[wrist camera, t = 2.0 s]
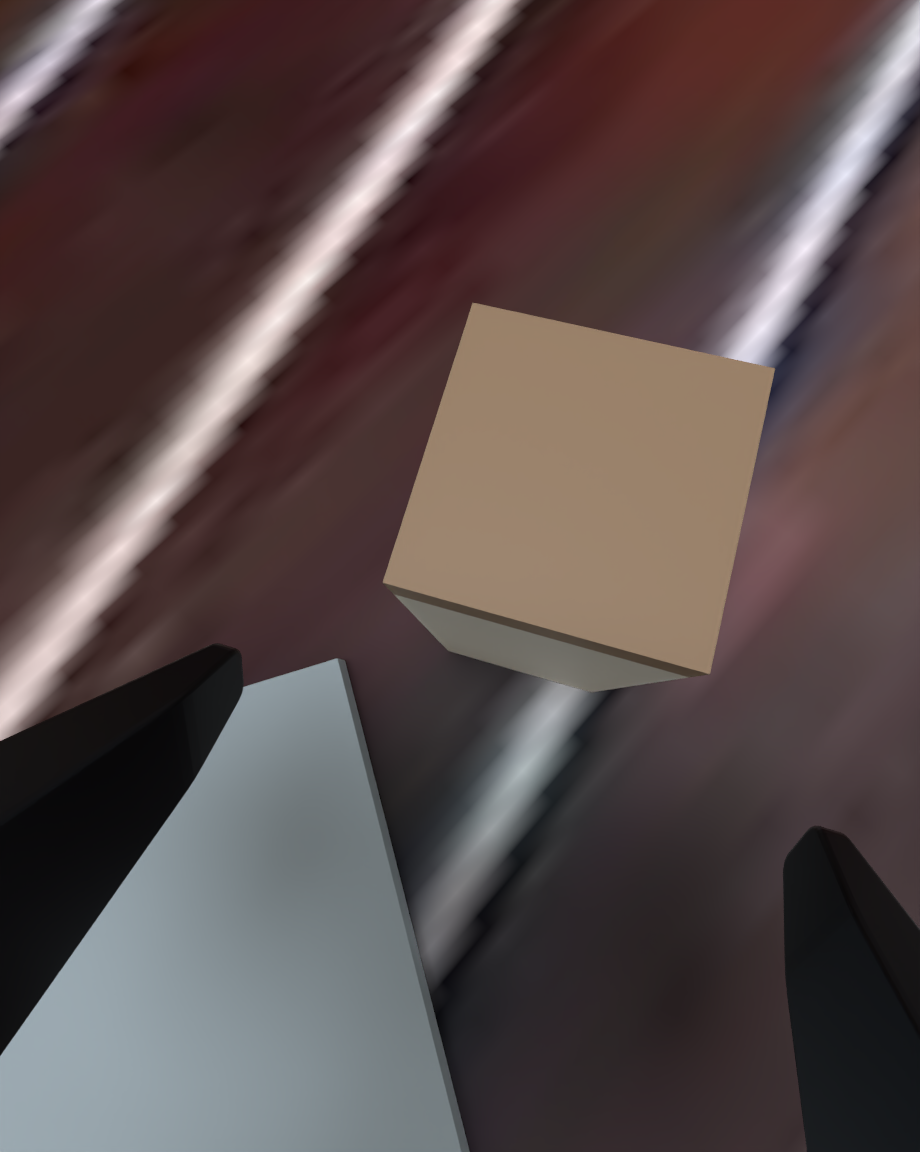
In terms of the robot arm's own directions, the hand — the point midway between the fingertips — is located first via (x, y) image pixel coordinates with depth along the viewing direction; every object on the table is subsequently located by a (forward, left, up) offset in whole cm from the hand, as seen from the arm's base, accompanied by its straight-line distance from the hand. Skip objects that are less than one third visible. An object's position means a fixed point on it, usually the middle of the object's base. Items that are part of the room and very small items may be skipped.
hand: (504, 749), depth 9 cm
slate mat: (-4, +13, -11) cm, 17 cm away
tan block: (+4, -2, -11) cm, 12 cm away
